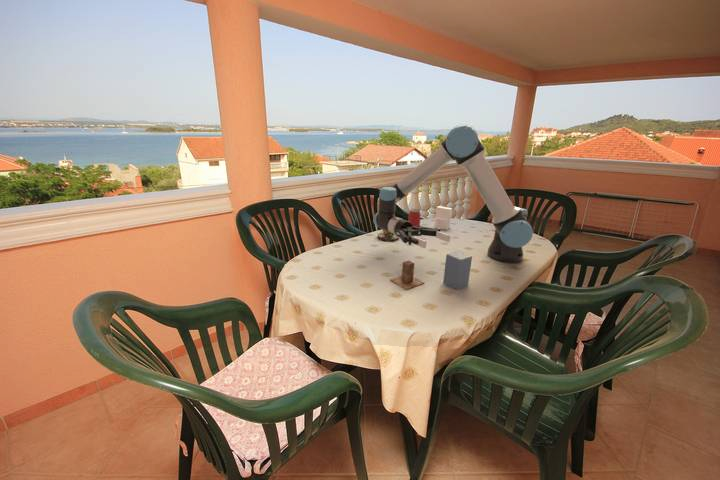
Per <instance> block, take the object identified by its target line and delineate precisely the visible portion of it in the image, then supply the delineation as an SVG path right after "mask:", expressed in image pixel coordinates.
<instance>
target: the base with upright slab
mask: <svg viewBox="0 0 720 480" xmlns="http://www.w3.org/2000/svg"><path fill="white" fill-rule="evenodd" d="M435 210H436V211H435V219H434V228H435V227H436V228H435V229H437V228H441V229H440V230H443V229H446V230H449V229H448V228H450V229H451V224H452V223H451V222H452V221H451V220H452V214H453V213H452V211H453V208H452V207H445V206H441V205H440V206H439V205H438V206H436V209H435Z"/></svg>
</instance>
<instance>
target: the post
mask: <svg viewBox="0 0 720 480" xmlns="http://www.w3.org/2000/svg"><path fill="white" fill-rule="evenodd" d="M414 272H415V262H413V261H411V260H406V261H403V262H402V269H401V275H400V276H397V277H394V278H391V279H390V280H389V281H391V282H392V283H394V284H395V285H397V286H399V287H401V288H403V290H407V291H408V290H410V289H412V288H416V287H419V286H421V285H424V284H425V282H424V281H422V280H420V279H418V278H417V277H415V276H414Z"/></svg>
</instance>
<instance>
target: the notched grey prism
mask: <svg viewBox="0 0 720 480" xmlns="http://www.w3.org/2000/svg"><path fill="white" fill-rule="evenodd" d="M445 255H446V256H445V264H444V273H443V282H442V283H443V284H445V285H446V286H448V287H450V288H452V289H455V290H457V291H458V290H460V289H462V288H465V287H467V286H469V281H470V275H471V274H470V273H471V272H470V271H471V266H472V260H473V255H470V254H468V253H465V252H462V251H459V250H456V251H452V252H450V253H446V254H445Z"/></svg>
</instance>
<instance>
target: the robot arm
mask: <svg viewBox="0 0 720 480" xmlns="http://www.w3.org/2000/svg"><path fill="white" fill-rule="evenodd" d="M485 152H486V148H485V145H484V144H483V142H482V140H481V138H480V137H479V134H478V132H477V130H476V129H475V128H474V127H473V126H471V125H469V124H459V125H456V126H453V128H452V129H450V131H449V132H448V133H447V135H446V138H445V139H444V140H443V141H442V142H441V143H440V144H439V147H438V148H437V149H436V150H434V152H432V153H431V154H430V155H428V156H427V157H426V158H425V159H424V160H422V161H421V162H420V163H419V164H417V165H416V167H414V168H413V169H412V170H410V172H408V173H407V174H406V175H404V176H403V177H402V178H401V179H400V180H399V181H398V182H396V183H394V185H392V186H382V187H381V188H380V189H379V195H378V197H379V198H378V199H379V200H378V201H379V202H378V211H377V212H376V213H375V214H374V217H373V219H372V220H373V221H372V222H373V225H374V226H375V227H377V228H378V229H380V230H382V231H383V230H386V231H388V232H390V233H393V234H394V235H397V236H398V237H399V238H398V239H400V240H401V241H402V243H404V244H408V245H409V246H411V245H412V244H414V245H416V246H418V247H421V248H423V249H426V248H427V241H426V240H424V239H421V238H419V237H421V236H426V237H427V236H429V237H435V238H436V239H439V240H442V241H444V242H447V243H450V242H451V241H450V240H451V235H450V234H447V233H444V232H441V229H437V228H435V227H429V226H428V227H427V226H423V225H420V226H418V227H416V226H412V224H411V222H409V221H408V219H407V220H406V219H403V218H400V217H398V216H396V208H397V207H396V206H397V204H398V203H399V202H400V201H401V200H402V199H404V198H405V197H407V195H408V194H410V193H411V192H413V190H415V189H416V188H418V187H419V186H420V185H421V184H423V183H424V182H425V181H426V180H428V179H429V178H430V177H432V176H433V175H434V174H435V173H437V172H438V171H440V170H441V168H443V167H444V166H445V165H447V164H448V163H449V162H451V161H452V162H454V161H455V162H456V164H457V166H458V167H462V168H464V170H465V171H466V173H467V175H468V176H469V178H470V180H471V182H472V183H473V184H474V187H475V188H476V190H477V191H478V194H479V195H480V197H481V198H482V200H483V202H484V204H486V207H487V208H488V210H489V211H490V212H489V213H491V216H492V220H491V223H492V224H493V226H494V228H495V229H494V235H493V239H492V241H491V243H490V244H489V247H488V249H487V253H486V254H487V257H489V258H491V259H493V260H496V261H500V262H505V263H520V262H521V261H523V259H524V250H523V247H524V246H526V245H527V244H529V243H530V241H531V240H532V239H533V236H534V235H533V234H534V232H533V230H534V229H533V227H532V225H531V224H530V223H529V221H528V218H527V217H528V210H527V209H526V208H523V207H522V208H521V207H517V206H514V204H513V202H512V200H511V199H510V197H509V195H508V194H507V192H506V190H505V188H504V187H503V185H502V183H501V182H500V180H499V178H498V176H497V175H496V173H495V171H494V169H493V168H492V167H491V164H490V163H489V161H488V159H487V158H486V155H485ZM417 236H418V237H417Z"/></svg>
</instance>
